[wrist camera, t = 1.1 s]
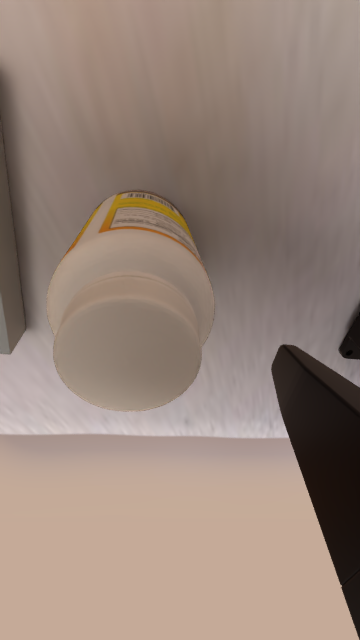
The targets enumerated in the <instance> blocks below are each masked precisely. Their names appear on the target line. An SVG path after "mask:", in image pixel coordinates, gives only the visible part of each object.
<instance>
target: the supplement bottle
mask: <svg viewBox="0 0 360 640" xmlns="http://www.w3.org/2000/svg"><path fill="white" fill-rule="evenodd" d="M214 312H215V303H214V295H213V290H212V286H211V283H210V280H209V277H208V275H207V272H206V270H205V268H204V265H203V263H202V260H201V258H200V255H199V253H198V250H197V248H196V245H195V243H194V240H193V238H192V236H191V233H190V231H189V228H188V225H187V223H186V221H185V219H184V218H183V216H182V215H181V213H180V212H179V211H178V209H177V208H176V207H175V206H174V205H173V204H172V203H170V202H169V201H168V200H166V199H165V198H163V197H161V196H159V195H157V194H155V193H152V192H148V191H142V190H130V191H124V192H120V193H117V194H115V195H113V196H111V197H109V198H108V199H106V200H105V201H104V202H102V203H101V204H100V205H99V206H98V207H97V208H96V209H95V211H94V212H93V214H92V215H91V217H90V218H89V220H88V221H87V223H86V224H85V226H84V227H83V229H82V230H81V232H80V233H79V235H78V236H77V238H76V240H75V241H74V242H73V244H72V245H71V247H70V248H69V250H68V251H67V253H66V254H65V256H64V257H63V259H62V260H61V262H60V263H59V265H58V267H57V268H56V270H55V272H54V274H53V277H52V279H51V282H50V285H49V288H48V292H47V316H48V320H49V323H50V326H51V329H52V331H53V334H54V335H55V341H54V347H53V358H54V362H55V366H56V369H57V372H58V374H59V376H60V377H61V379H62V381H63V382H64V383H65V384H66V385H67V387H68V388H69V389H70V390H71V391H72V392H74V393H75V394H76V395H77V396H79V397H80V398H82V399H83V400H85V401H87V402H89V403H91V404H93V405H96V406H98V407H102V408H105V409H109V410H115V411H124V412H127V411H144V410H149V409H153V408H156V407H159V406H162V405H165V404H167V403H169V402H171V401H173V400H174V399H176V398H177V397H179V396H180V395H181V394H183V393H184V392H185V391H186V390H187V389H188V387H189V386H190V385H191V384H192V383H193V381H194V379H195V378H196V376H197V373H198V371H199V368H200V364H201V355H202V351H201V347H202V346H203V344H204V343H205V341H206V339H207V338H208V335H209V333H210V330H211V327H212V324H213V320H214Z"/></svg>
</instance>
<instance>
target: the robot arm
mask: <svg viewBox="0 0 360 640" xmlns="http://www.w3.org/2000/svg"><path fill="white" fill-rule="evenodd" d="M348 350H349V351H348ZM339 353H340V354H341V355H342V356H343V357H344V358H348V359H360V313H359V314H358V316H357V318H356V320H355V322H354V324H353V326H352V327H351V329H350V331H349V333H348V335H347V337H346V338H345V340H344V342H343V344H342V346H341V348H340V350H339ZM271 370H272V376H273V380H274V385H275V389H276V393H277V398H278V402H279V407H280V411H281V414H282V418H283V421H284V424H285V426H286V429H287V432H288V435H289V438H290V441H291V444H292V447H293V449H294V452H295V455H296V458H297V461H298V464H299V467H300V470H301V472H302V475H303V478H304V481H305V484H306V487H307V490H308V493H309V495H310V498H311V501H312V504H313V507H314V510H315V513H316V515H317V518H318V521H319V524H320V527H321V530H322V533H323V536H324V539H325V541H326V544H327V547H328V550H329V553H330V556H331V559H332V561H333V564H334V567H335V570H336V573H337V576H338V579H339V582H340V584H341V585H342V587H341V588H342V591H343V594H344V597H345V600H346V603H347V605H348V608H349V611H350V614H351V617H352V620H353V623H354V625H355V628H356V631H357V634H358V637H359V640H360V388H359V387H358V386H356V385H355V384H353V383H352V382H350V381H349V380H347V379H346V378H344V377H343V376H341V375H339V374H338V373H336V372H335V371H333V370H332V369H330V368H329V367H327V366H326V365H324V364H323V363H321V362H319V361H318V360H316V359H315V358H313V357H312V356H310V355H309V354H307V353H306V352H304V351H303V350H301V349H300V348H298V347H296V346H294V345H286V344H283V345H281V346H280V347H279V349H278V351H277V354H276V356H275V359H274V361H273V363H272V368H271Z"/></svg>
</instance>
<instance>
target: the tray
mask: <svg viewBox="0 0 360 640" xmlns="http://www.w3.org/2000/svg"><path fill="white" fill-rule="evenodd" d="M25 330H26V325H25V316H24V308H23V300H22V292H21V283H20V275H19V267H18V259H17V250H16V242H15V234H14V226H13V217H12V209H11V201H10V193H9V184H8V176H7V168H6V160H5V151H4V143H3V135H2V127H1V119H0V354H11V353H12V351H13V350H14V348H15V346H16V345H17V343H18V342H19V340H20V338H21V337H22V335H23V334H24V332H25Z"/></svg>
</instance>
